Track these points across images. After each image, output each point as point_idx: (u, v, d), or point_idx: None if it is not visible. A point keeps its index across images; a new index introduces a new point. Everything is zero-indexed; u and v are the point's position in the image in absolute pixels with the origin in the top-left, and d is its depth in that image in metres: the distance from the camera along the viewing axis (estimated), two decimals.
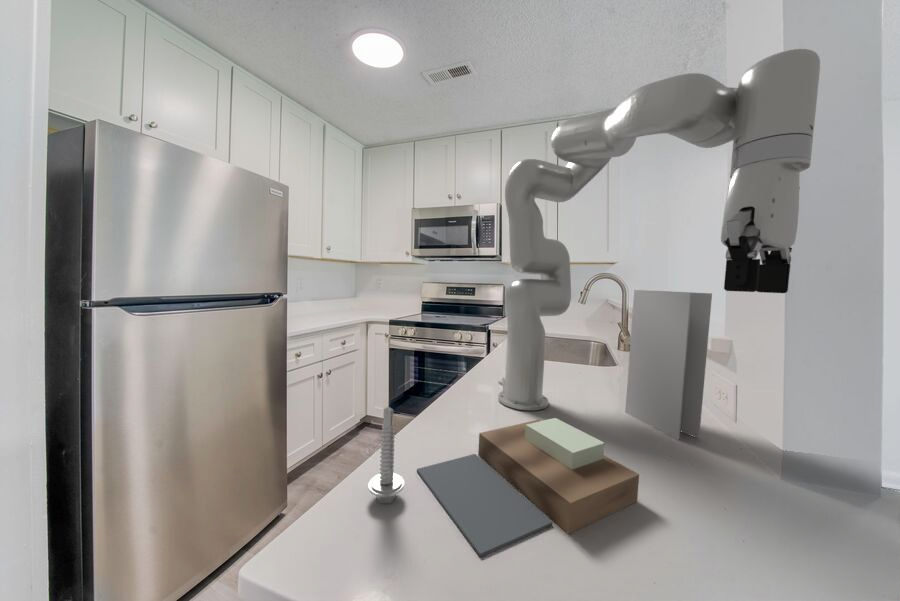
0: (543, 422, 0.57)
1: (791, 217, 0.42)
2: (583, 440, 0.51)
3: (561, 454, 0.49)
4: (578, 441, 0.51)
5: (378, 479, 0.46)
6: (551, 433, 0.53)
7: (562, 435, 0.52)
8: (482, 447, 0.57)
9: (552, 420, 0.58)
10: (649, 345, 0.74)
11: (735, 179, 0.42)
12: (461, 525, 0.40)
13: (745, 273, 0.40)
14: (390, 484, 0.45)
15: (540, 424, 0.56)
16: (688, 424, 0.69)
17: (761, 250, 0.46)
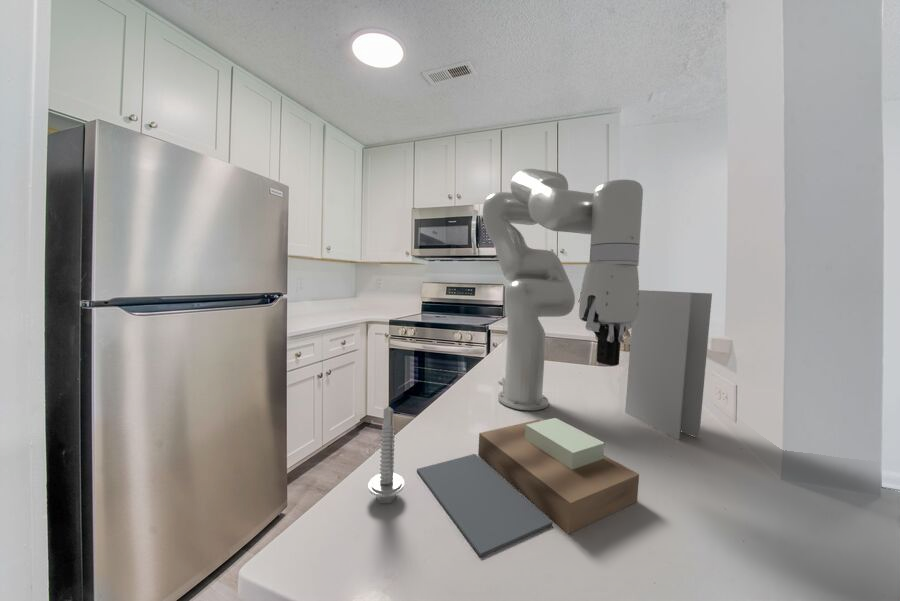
0: (543, 422, 0.57)
1: (628, 301, 0.55)
2: (583, 440, 0.51)
3: (561, 454, 0.49)
4: (578, 441, 0.51)
5: (378, 479, 0.46)
6: (551, 433, 0.53)
7: (562, 435, 0.52)
8: (482, 447, 0.57)
9: (552, 420, 0.58)
10: (649, 345, 0.74)
11: (586, 272, 0.55)
12: (461, 525, 0.40)
13: (606, 352, 0.55)
14: (390, 484, 0.45)
15: (540, 424, 0.56)
16: (688, 424, 0.69)
17: None
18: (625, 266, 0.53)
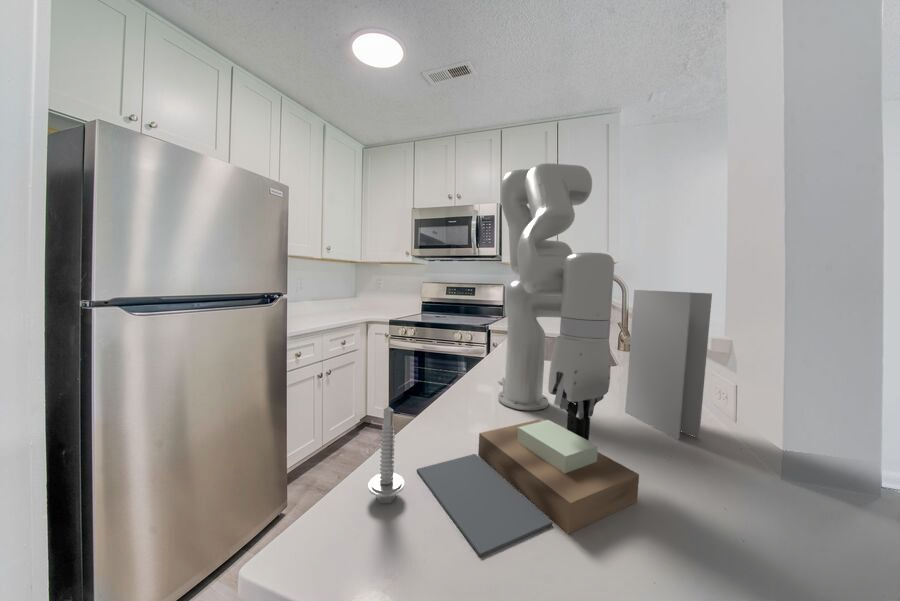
0: (536, 424, 0.56)
1: (598, 377, 0.52)
2: (576, 443, 0.50)
3: (554, 457, 0.48)
4: (571, 444, 0.50)
5: (378, 479, 0.46)
6: (543, 436, 0.52)
7: (555, 437, 0.51)
8: (482, 447, 0.57)
9: (545, 422, 0.57)
10: (649, 345, 0.74)
11: (555, 345, 0.53)
12: (461, 525, 0.40)
13: (575, 428, 0.53)
14: (390, 484, 0.45)
15: (533, 426, 0.55)
16: (688, 424, 0.69)
17: None
18: (595, 342, 0.51)
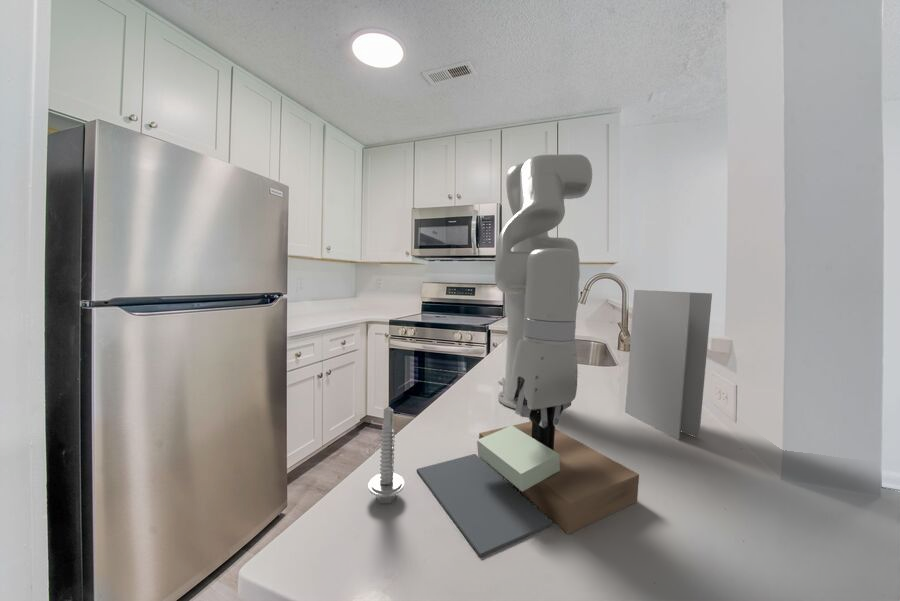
0: (497, 434, 0.52)
1: (563, 383, 0.49)
2: (536, 453, 0.46)
3: (511, 474, 0.44)
4: (530, 456, 0.46)
5: (378, 479, 0.46)
6: (502, 449, 0.48)
7: (514, 449, 0.48)
8: None
9: (508, 428, 0.53)
10: (649, 345, 0.74)
11: (517, 348, 0.49)
12: (461, 525, 0.40)
13: (539, 438, 0.49)
14: (390, 484, 0.45)
15: (493, 436, 0.51)
16: (688, 424, 0.69)
17: None
18: (559, 345, 0.48)
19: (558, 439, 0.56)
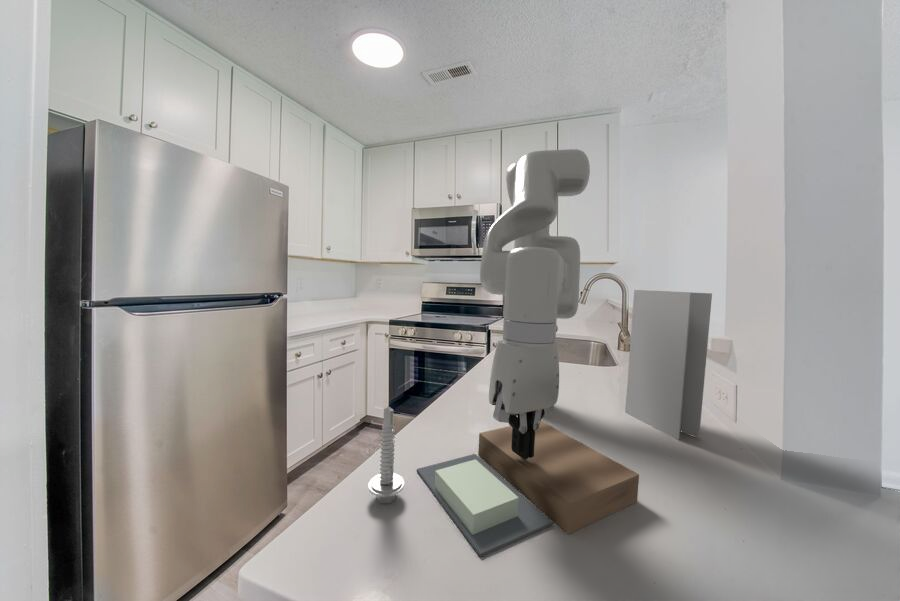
0: None
1: (543, 387, 0.47)
2: None
3: None
4: None
5: (378, 479, 0.46)
6: None
7: None
8: (482, 447, 0.57)
9: None
10: (649, 345, 0.74)
11: (496, 351, 0.47)
12: (461, 525, 0.40)
13: (518, 443, 0.48)
14: (390, 484, 0.45)
15: None
16: (688, 424, 0.69)
17: None
18: (538, 347, 0.46)
19: (558, 439, 0.56)
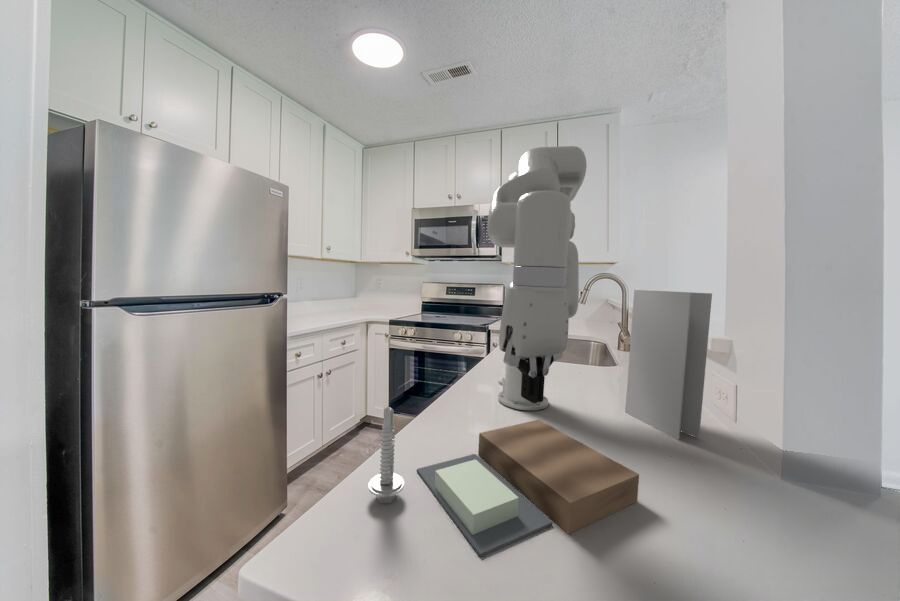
0: None
1: (552, 332, 0.47)
2: None
3: None
4: None
5: (378, 479, 0.46)
6: None
7: None
8: (482, 447, 0.57)
9: None
10: (649, 345, 0.74)
11: (506, 297, 0.48)
12: (461, 525, 0.40)
13: (528, 388, 0.49)
14: (390, 484, 0.45)
15: None
16: (688, 424, 0.69)
17: None
18: (548, 292, 0.46)
19: (558, 439, 0.56)
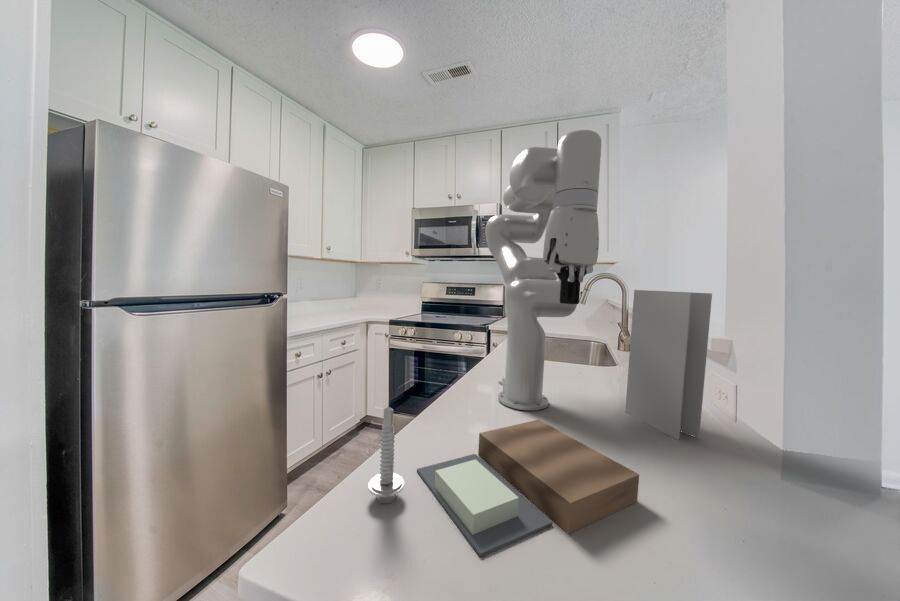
0: None
1: (587, 244, 0.59)
2: None
3: None
4: None
5: (378, 479, 0.46)
6: None
7: None
8: (482, 447, 0.57)
9: None
10: (649, 345, 0.74)
11: (549, 217, 0.60)
12: (461, 525, 0.40)
13: (567, 291, 0.60)
14: (390, 484, 0.45)
15: None
16: (688, 424, 0.69)
17: None
18: (584, 211, 0.58)
19: (558, 439, 0.56)
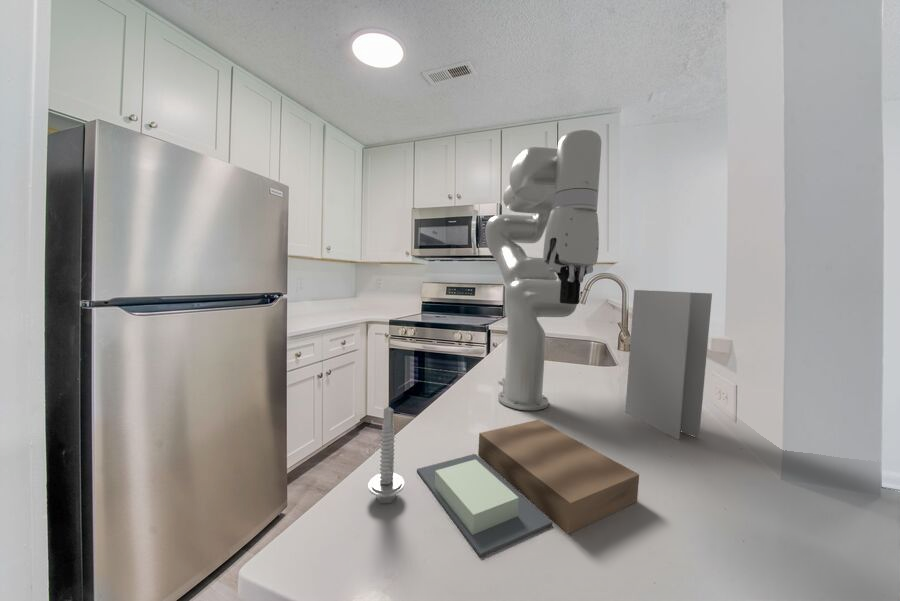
0: None
1: (587, 244, 0.59)
2: None
3: None
4: None
5: (378, 479, 0.46)
6: None
7: None
8: (482, 447, 0.57)
9: None
10: (649, 345, 0.74)
11: (549, 217, 0.60)
12: (461, 525, 0.40)
13: (567, 291, 0.60)
14: (390, 484, 0.45)
15: None
16: (688, 424, 0.69)
17: None
18: (584, 211, 0.58)
19: (558, 439, 0.56)
